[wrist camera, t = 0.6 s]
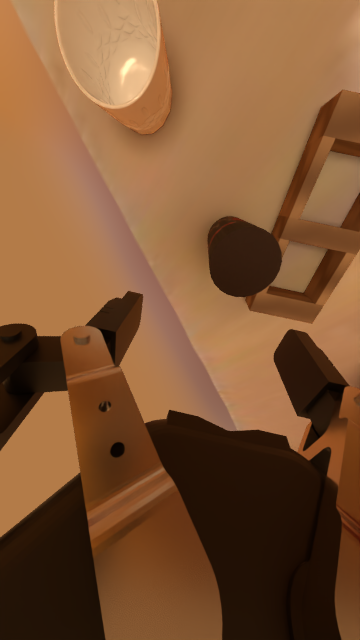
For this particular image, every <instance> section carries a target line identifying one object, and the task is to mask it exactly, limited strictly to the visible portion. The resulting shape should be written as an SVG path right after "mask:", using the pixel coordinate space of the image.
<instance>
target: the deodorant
mask: <svg viewBox="0 0 360 640" xmlns="http://www.w3.org/2000/svg"><path fill="white" fill-rule="evenodd" d="M208 254H209V268H210V274H211V278H212V280H213V282H214V284H215V285H216V286H217V287H218V288H219V289H220V290H221V291H222V292H224V293H226V294H228V295H231V296H234V297H246V296H252V295H254V294H257V293H259V292H261V291H262V290H264V289H265V288H267V287H268V286H269V285H270V284H271V283H272V282H273V280H274V279H275V278H276V276H277V274H278V272H279V270H280V266H281V262H282V252H281V249H280V246H279V243H278V242H277V240H276V239H275V237H274V236H273V235H271V234H270V233H269V232H267V231H266V230H264V229H261V228H259V227H257V226H255V225H252V224H250V223H248V222H246V221H243V220H241V219H239V218H236V217H224V218H221V219H219V220H218V221H216V222H215V223H214V224H213V225H212V227H211V229H210V231H209V234H208Z"/></svg>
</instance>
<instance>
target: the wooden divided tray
mask: <svg viewBox="0 0 360 640" xmlns="http://www.w3.org/2000/svg"><path fill="white" fill-rule="evenodd" d="M330 151H334V152H339V153H344V154H348V155H353V156H358V157H360V93H356V92H351V91H347V90H342V91H341V92H339V93H338V94H337V95H336V96H335V97H333V98H332V99H331V100H330V101H329V102H327V103H326V104H325V105H324V106H323V107H321V109H320V112H319V114H318V117H317V119H316V122H315V125H314V127H313V130H312V132H311V135H310V137H309V140H308V142H307V145H306V147H305V150H304V152H303V155H302V158H301V160H300V163H299V165H298V168H297V170H296V173H295V175H294V178H293V180H292V183H291V185H290V188H289V191H288V193H287V196H286V198H285V201H284V203H283V206H282V208H281V211H280V213H279V216H278V218H277V221H276V224H275V226H274V229H273V231H272V234H271V235H273V236H274V237H275V239H276V240H277V242H278V243H279V246H280V249H281V252H282V257H283V254H284V252H285V250H286V248H287V245H288V243H289V241H294V242H299V243H303V244H308V245H313V246H317V247H322V248H327V249H328V251H327V253H326V254H325V256H324V258H323V260H322V262H321V263H320V265H319V267H318V269H317V271H316V272H315V274H314V276H313V278H312V280H311V281H310V283H309V285H308V287H307V289H306V290H305V292H304V293H300V292H295V291H290V290H286V289H281V288H276V287H272V286H270V285H269V286H268V287H267V288H265V289H264V290H262V291H261V292H259V293H257V294H254V295H252V296H247V297H246V302H247V305H248V307H249V309H250V311H255V312H259V313H264V314H269V315H274V316H278V317H283V318H288V319H292V320H297V321H302V322H307V323H311V324H312V323H313V322H314V320H315V318H316V317H317V315H318V314H319V312H320V311H321V309H322V307H323V306H324V304H325V303H326V301H327V300H328V298H329V297H330V295H331V293H332V292H333V290H334V289H335V287H336V286H337V284H338V282H339V281H340V279H341V278H342V276H343V275H344V273H345V271H346V270H347V268H348V267H349V265H350V264H351V262H352V261H353V259H354V257H355V256H356V254H357V253H358V251H359V250H360V194H359V195H358V197H357V199H356V201H355V203H354V204H353V206H352V208H351V210H350V211H349V213H348V215H347V217H346V219H345V220H344V222H343V224H342V226H341V228H338V227H334V226H329V225H324V224H320V223H315V222H310V221H305V220H301V219H300V216H301V214H302V212H303V210H304V207H305V205H306V203H307V201H308V199H309V196H310V194H311V192H312V190H313V187H314V185H315V183H316V181H317V178H318V176H319V174H320V172H321V169H322V167H323V165H324V163H325V161H326V158H327V156H328V154H329V152H330Z"/></svg>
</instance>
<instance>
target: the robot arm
mask: <svg viewBox="0 0 360 640" xmlns="http://www.w3.org/2000/svg"><path fill="white" fill-rule="evenodd" d="M142 302H143V294H140V293H135V292H131V291H128V292H127V293H126V294H125V296H124V297H123V298H122V299H121V298H115V299H112V300H110V301H108V302H107V304H105V305H104V307H103V308H102V309H101V310H100V311H99V312H98V313H97V314H96V315H95V316H94V317H93V318H92V319H91V320H90V321H89V322H88V323H87V324H86V325H85V326H77V327H73V328H70V329H68V330H67V331H65V332H64V333H63V334H62V336H37V333H36V330H35V328H34V327H32V326H30V325H27V324H9V325H4V326H1V327H0V450H1V449H2V448H3V446H4V445H5V444H6V443H7V441H8V440H9V438H10V437H11V436H12V434H13V433H14V432H15V431H16V429H17V428H18V427H19V425H20V424H21V423H22V421H23V420H24V419H25V417H26V416H27V415H28V413H29V412H30V411H31V409H32V408H33V407H34V405H35V404H36V403H37V401H38V400H39V399H40V397H41V396H42V395H43V393H44V392H52V391H68V394H69V401H70V406H71V414H72V420H73V427H74V433H75V440H76V447H77V453H78V459H79V466H80V473H79V474H78V475H76V476H75V477H74V478H73V479H72V480H70V481H69V482H68V483H67V484H65V485H64V486H63V487H62V488H61V489H59V490H58V491H57V492H56V493H54V494H53V495H52V496H51V497H49V498H48V499H47V500H46V501H45V502H43V503H42V504H41V505H40V506H38V507H37V508H36V509H35V510H33V511H32V512H31V513H30V514H29V515H27V516H26V517H25V518H24V519H22V520H21V521H20V522H19V523H18V524H16V525H15V526H14V527H13V528H11V529H10V530H9V531H8V532H7V533H5V534H4V535H3V536H2V537H0V640H360V389H359V388H356V387H352V386H349V384H348V383H347V382H346V381H345V379H344V378H343V377H342V375H341V374H340V373H339V372H338V370H337V369H336V368H335V367H334V366H333V364H332V363H331V361H330V360H328V357H327V356H326V355H325V354H324V352H323V351H322V350H321V349H320V348H318V347H317V346H316V344H315V343H314V342H313V340H312V339H311V338H310V337H309V335H308V334H307V333H305V332H301V331H297V330H293V329H290V330H289V331H287V333H286V334H285V336H284V337H283V339H282V341H281V342H280V344H279V346H278V347H277V349H276V351H275V353H274V362H275V365H276V367H277V369H278V372H279V374H280V377H281V379H282V381H283V384H284V386H285V388H286V391H287V393H288V395H289V398H290V400H291V402H292V405H293V407H294V409H295V412H296V414H297V416H300V417H304V418H309V419H310V420H311V422H310V423H309V424H308V425H307V427H306V429H305V432H304V435H303V438H302V440H301V443H300V446H299V448H298V452H296V451H294V450H292V449H291V448H290V446H289V443H288V440H287V437H286V436H283V435H278V434H274V433H269V432H265V431H261V430H245V431H227V430H225V429H223V428H221V427H219V426H217V425H215V424H213V423H211V422H209V421H206V420H204V419H202V418H200V417H198V416H194V415H189V414H185V413H181V412H177V411H172V410H169V412H168V415H167V419H161V420H154V421H151V422H147V423H144V421H143V419H142V416H141V414H140V411H139V409H138V407H137V404H136V402H135V399H134V397H133V395H132V392H131V390H130V388H129V385H128V383H127V381H126V378H125V376H124V373H123V371H122V369H121V367H120V366H119V365H120V362H121V361H122V359H123V357H124V355H125V353H126V351H127V349H128V347H129V345H130V343H131V342H132V340H133V338H134V336H135V334H136V332H137V330H138V328H139V325H140V320H141V311H142Z"/></svg>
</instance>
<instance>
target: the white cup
mask: <svg viewBox="0 0 360 640" xmlns="http://www.w3.org/2000/svg"><path fill="white" fill-rule="evenodd" d="M54 16H55V27H56V33H57V39H58V43H59V47H60V50H61V54H62V57H63V59H64V62H65V64H66V67H67V69H68V71H69V73H70V75H71V76H72V78H73V80H74V81H75V83H76V84H77V86H78V87H79V88H80V90H81V91H82V92H83V93H84V94H85V95H86V96H87V97H88V98H89V99H90V100H92V101H93V102H94V103H96V104H97V105H98V106H100V107H101V108H102V109H103V110H105V111H106V112H107V113H108V114H110V115H111V116H112V117H113V118H115V119H116V120H118V121H119V122H121V123H122V124H123V125H125V126H126V127H128V128H130V129H132V130H134V131H135V132H137V133H139V134H152V133H154V132H155V131H156V130H158V129H159V128H160V127H162V126H163V124H164V122H165V120H166V118H167V116H168V114H169V112H170V108H171V99H172V88H171V83H170V71H169V65H168V57H167V53H166V47H165V42H164V36H163V31H162V25H161V20H160V14H159V9H158V3H157V0H54Z"/></svg>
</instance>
